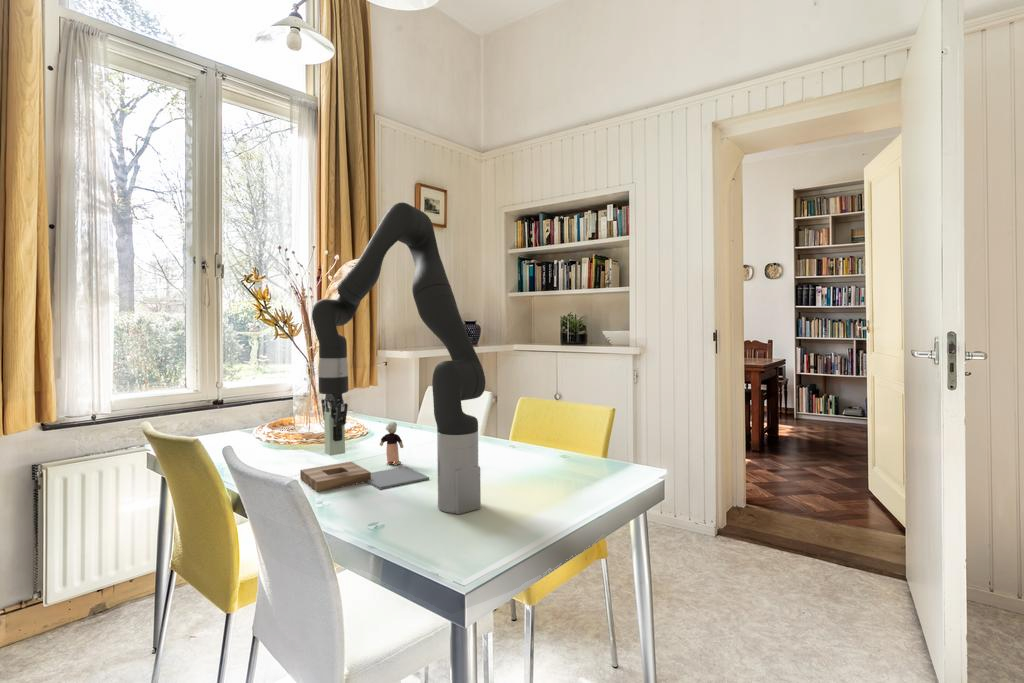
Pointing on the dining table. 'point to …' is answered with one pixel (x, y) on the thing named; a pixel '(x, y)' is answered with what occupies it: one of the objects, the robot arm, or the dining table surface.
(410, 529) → the dining table surface
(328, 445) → the sage peg
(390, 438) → the grandmother figurine
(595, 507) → the dining table surface
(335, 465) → the walnut pocket block
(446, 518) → the dining table surface
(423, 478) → the slate mat
